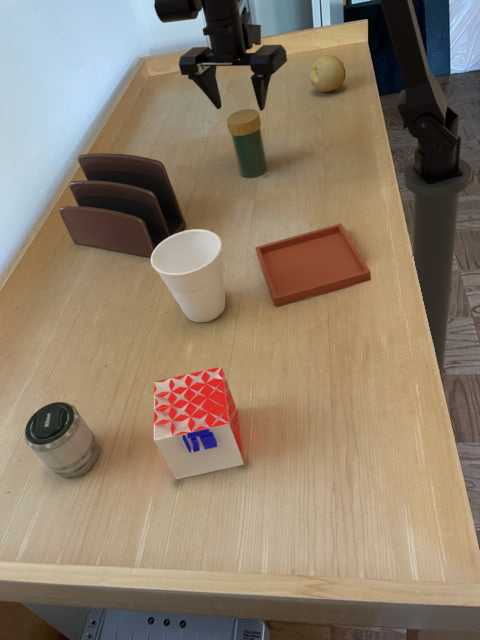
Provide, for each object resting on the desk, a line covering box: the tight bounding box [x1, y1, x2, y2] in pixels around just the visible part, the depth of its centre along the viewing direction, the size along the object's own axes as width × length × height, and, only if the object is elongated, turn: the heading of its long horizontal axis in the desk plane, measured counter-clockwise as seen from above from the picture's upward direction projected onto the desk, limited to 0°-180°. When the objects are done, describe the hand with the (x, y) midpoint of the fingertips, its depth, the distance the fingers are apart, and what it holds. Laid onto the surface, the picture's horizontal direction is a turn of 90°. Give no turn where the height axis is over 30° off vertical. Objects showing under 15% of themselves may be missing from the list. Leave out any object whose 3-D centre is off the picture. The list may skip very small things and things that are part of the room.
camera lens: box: [24, 401, 100, 479], centre depth 62 cm, size 6×6×8 cm
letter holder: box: [58, 152, 187, 258], centre depth 94 cm, size 10×20×14 cm, turn 62°
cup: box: [150, 228, 226, 323], centre depth 76 cm, size 10×10×11 cm
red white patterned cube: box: [153, 365, 245, 480], centre depth 60 cm, size 8×8×8 cm
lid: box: [226, 108, 262, 136], centre depth 100 cm, size 6×6×2 cm
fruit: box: [309, 54, 347, 93], centre depth 123 cm, size 8×8×8 cm
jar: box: [230, 127, 268, 179], centre depth 103 cm, size 6×6×11 cm
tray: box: [254, 222, 372, 307], centre depth 81 cm, size 14×13×2 cm
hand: (240, 108), depth 97 cm, fingers open, 9 cm apart
